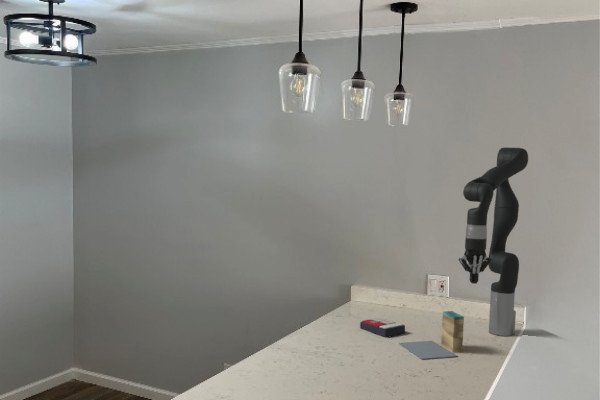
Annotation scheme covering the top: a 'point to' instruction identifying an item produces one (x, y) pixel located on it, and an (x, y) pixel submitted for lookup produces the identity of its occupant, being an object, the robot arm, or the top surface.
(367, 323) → the calculator
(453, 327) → the block
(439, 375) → the top surface
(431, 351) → the mat
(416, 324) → the top surface
